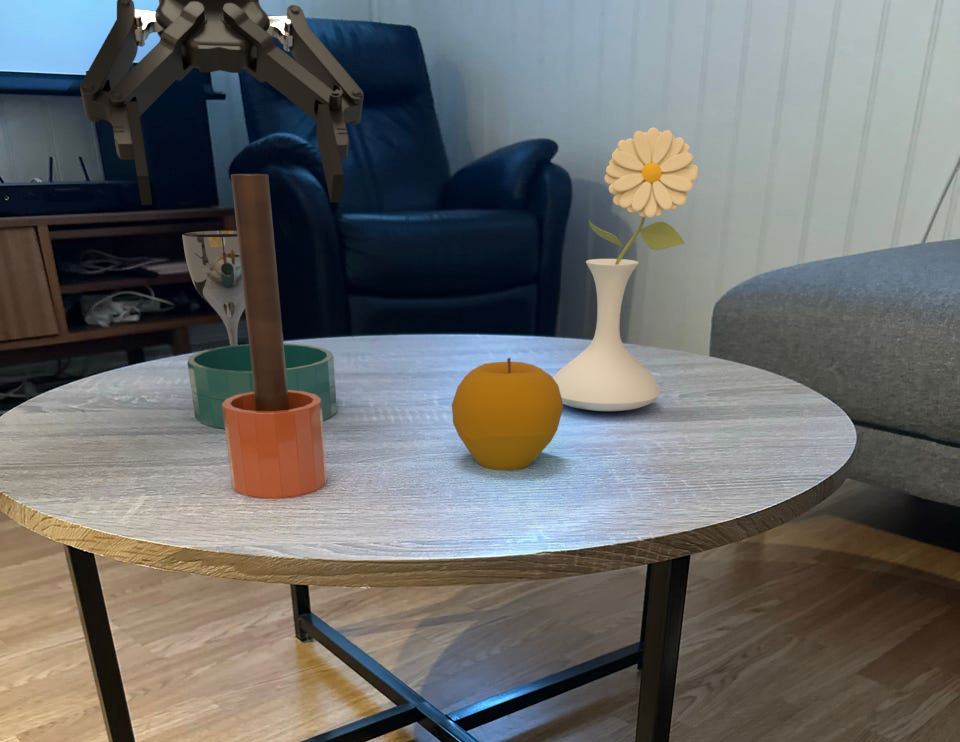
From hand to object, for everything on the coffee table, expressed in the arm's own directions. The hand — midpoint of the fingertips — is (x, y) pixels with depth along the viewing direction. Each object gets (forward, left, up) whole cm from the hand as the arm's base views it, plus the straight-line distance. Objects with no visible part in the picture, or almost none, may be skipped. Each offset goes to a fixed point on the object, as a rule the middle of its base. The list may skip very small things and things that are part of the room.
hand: (243, 190), depth 68 cm
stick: (+6, -3, -20) cm, 21 cm away
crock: (+6, -3, -21) cm, 22 cm away
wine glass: (-30, +18, -21) cm, 41 cm away
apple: (+15, +13, -21) cm, 28 cm away
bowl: (-12, +9, -21) cm, 25 cm away
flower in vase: (+9, +36, -21) cm, 42 cm away
